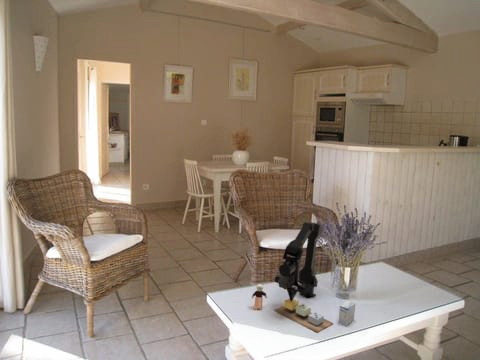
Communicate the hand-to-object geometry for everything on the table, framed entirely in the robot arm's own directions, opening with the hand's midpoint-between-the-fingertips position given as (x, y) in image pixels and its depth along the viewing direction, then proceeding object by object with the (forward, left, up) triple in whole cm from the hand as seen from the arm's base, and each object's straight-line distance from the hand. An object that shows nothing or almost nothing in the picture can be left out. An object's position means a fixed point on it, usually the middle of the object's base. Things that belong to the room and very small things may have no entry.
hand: (291, 300), depth 196 cm
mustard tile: (0, 0, -4) cm, 4 cm away
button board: (0, +8, -6) cm, 10 cm away
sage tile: (0, +8, -4) cm, 8 cm away
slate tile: (0, +15, -5) cm, 16 cm away
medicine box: (-13, +23, -6) cm, 27 cm away
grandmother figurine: (+10, -12, -6) cm, 17 cm away
